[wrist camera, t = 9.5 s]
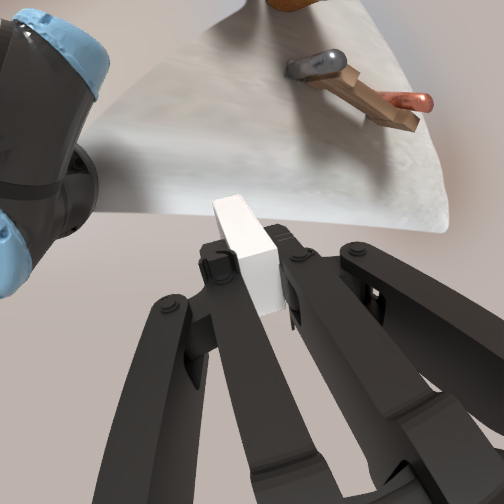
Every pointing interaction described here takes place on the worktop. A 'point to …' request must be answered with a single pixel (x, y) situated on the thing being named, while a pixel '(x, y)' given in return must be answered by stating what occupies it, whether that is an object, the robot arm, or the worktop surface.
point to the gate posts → (338, 62)
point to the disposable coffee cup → (291, 4)
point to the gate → (364, 99)
